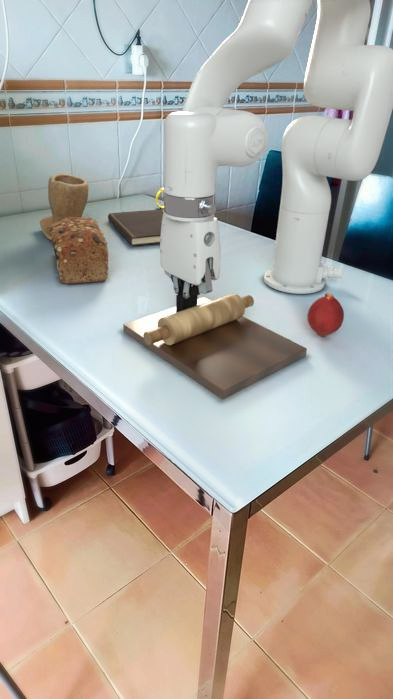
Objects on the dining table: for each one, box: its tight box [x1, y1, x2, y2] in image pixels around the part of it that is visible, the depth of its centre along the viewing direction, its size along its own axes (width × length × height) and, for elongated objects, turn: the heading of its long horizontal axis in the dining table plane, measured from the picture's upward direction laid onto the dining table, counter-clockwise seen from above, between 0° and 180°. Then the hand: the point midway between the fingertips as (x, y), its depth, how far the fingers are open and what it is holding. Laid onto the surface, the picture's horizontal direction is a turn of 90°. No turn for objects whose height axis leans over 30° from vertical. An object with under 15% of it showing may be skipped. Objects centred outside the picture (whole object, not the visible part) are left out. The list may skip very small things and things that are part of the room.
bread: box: [50, 216, 109, 285], centre depth 101 cm, size 19×11×10 cm, turn 17°
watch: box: [155, 187, 164, 209], centre depth 148 cm, size 6×3×6 cm, turn 109°
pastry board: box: [122, 296, 308, 400], centre depth 77 cm, size 18×24×2 cm
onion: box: [306, 292, 345, 338], centre depth 79 cm, size 6×6×8 cm
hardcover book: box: [107, 208, 164, 247], centre depth 128 cm, size 16×23×2 cm
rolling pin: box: [144, 292, 255, 345], centre depth 77 cm, size 22×4×4 cm, turn 131°
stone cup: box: [39, 173, 89, 241], centre depth 119 cm, size 15×12×15 cm
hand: (186, 315), depth 80 cm, fingers closed
